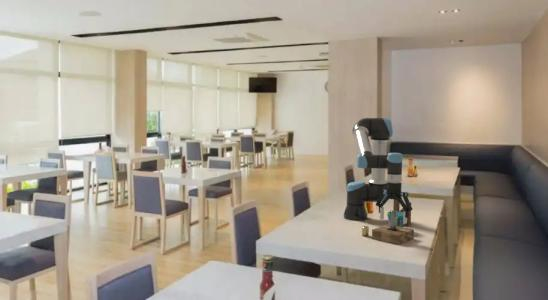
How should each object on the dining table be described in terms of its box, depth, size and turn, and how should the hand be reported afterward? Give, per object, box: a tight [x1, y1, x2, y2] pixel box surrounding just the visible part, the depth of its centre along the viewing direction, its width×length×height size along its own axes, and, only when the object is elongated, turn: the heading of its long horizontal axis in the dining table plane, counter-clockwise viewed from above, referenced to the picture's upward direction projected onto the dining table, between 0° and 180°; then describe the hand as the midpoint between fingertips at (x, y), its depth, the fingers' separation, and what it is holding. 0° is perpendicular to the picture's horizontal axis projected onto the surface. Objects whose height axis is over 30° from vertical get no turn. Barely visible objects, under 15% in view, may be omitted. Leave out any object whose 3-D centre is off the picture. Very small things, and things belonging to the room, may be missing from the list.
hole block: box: [371, 224, 415, 246], centre depth 240 cm, size 16×16×5 cm
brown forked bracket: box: [392, 199, 412, 227], centre depth 272 cm, size 4×11×18 cm, turn 49°
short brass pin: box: [361, 225, 370, 237], centre depth 246 cm, size 4×4×5 cm
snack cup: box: [386, 211, 405, 228], centre depth 257 cm, size 16×10×10 cm
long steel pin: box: [389, 210, 397, 231], centre depth 240 cm, size 4×4×15 cm
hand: (393, 221), depth 240 cm, fingers open, 13 cm apart
